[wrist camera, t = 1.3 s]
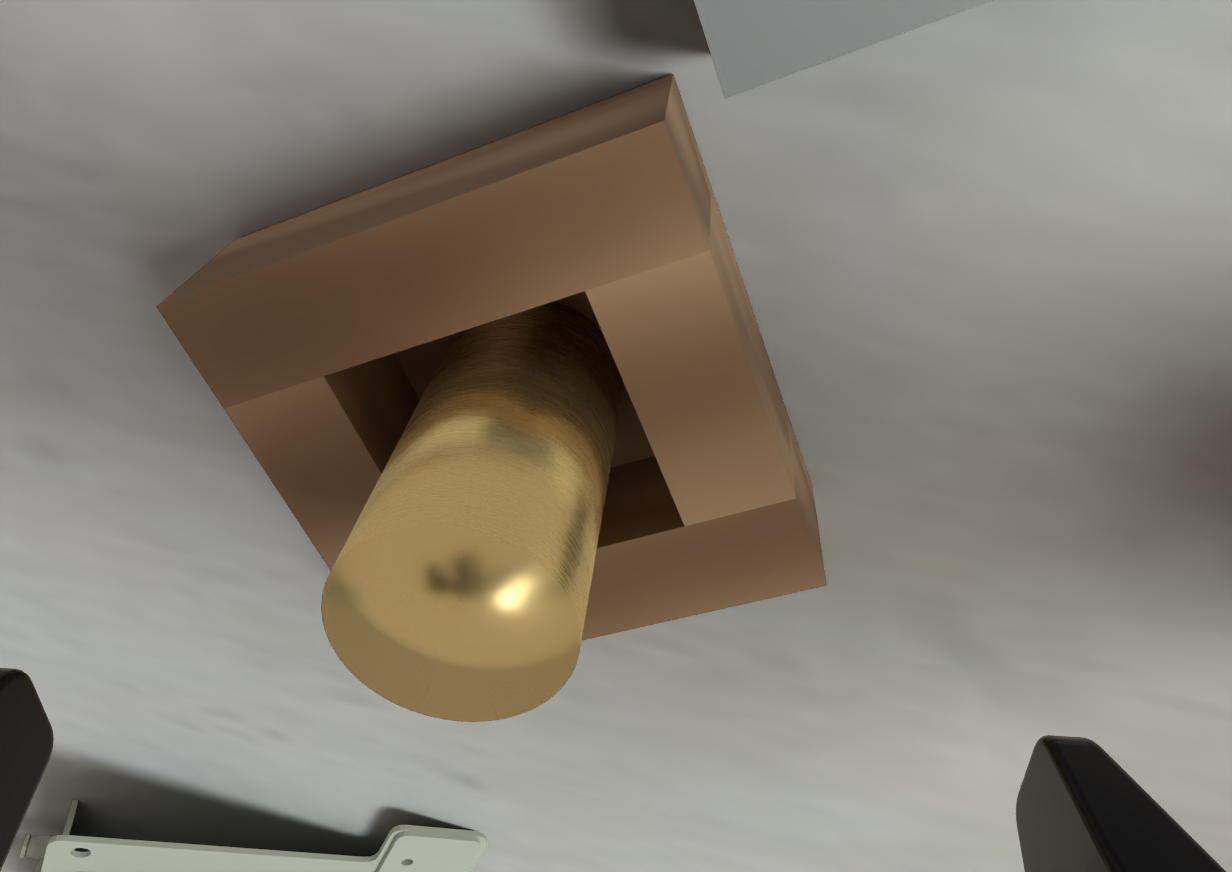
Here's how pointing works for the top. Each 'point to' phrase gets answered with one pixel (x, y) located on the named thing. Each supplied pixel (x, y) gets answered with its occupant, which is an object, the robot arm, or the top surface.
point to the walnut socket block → (505, 285)
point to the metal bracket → (255, 854)
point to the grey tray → (803, 32)
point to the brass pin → (484, 524)
